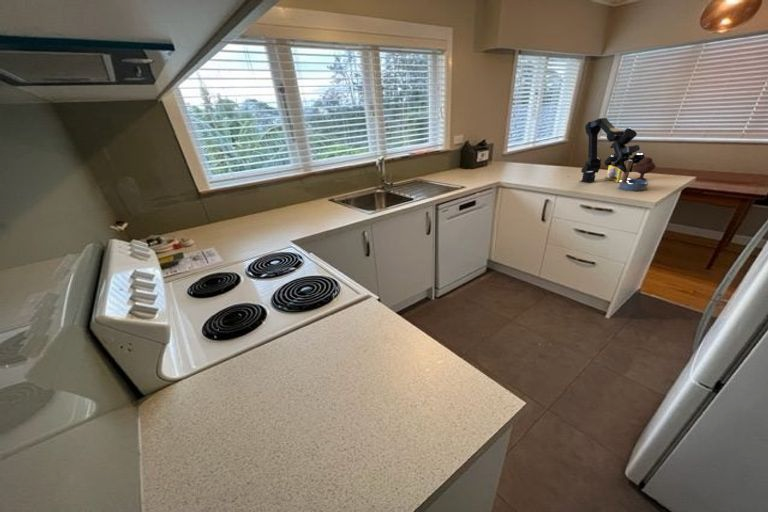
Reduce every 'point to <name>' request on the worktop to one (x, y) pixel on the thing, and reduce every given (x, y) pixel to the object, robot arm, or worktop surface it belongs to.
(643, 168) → the brown tree model
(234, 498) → the worktop surface
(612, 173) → the candy box
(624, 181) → the stirring stick
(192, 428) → the worktop surface
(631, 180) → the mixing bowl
